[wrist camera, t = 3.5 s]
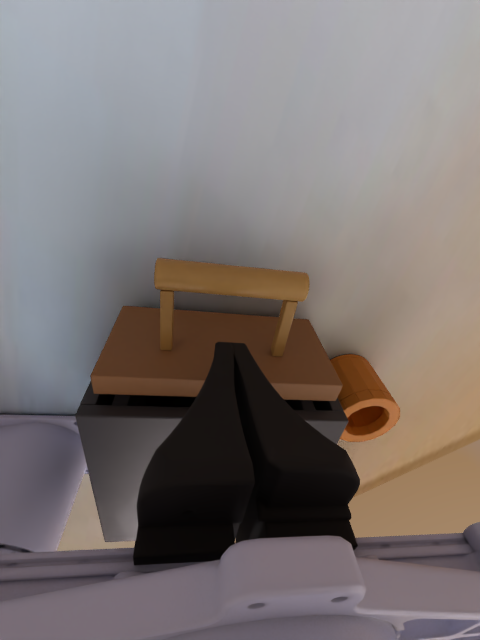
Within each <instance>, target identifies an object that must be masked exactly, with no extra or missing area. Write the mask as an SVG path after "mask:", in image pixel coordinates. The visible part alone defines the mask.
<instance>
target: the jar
mask: <svg viewBox="0 0 480 640" xmlns="http://www.w3.org/2000/svg"><path fill="white" fill-rule="evenodd" d="M330 362H331V364H332V365H333V367H334V369H335V371H336V373H337V375H338V377H339V379H340V381H341V383H342V385H343V386H342V389H341V391H340V393H339V395H338V399H339V402H340V404H341V406H342V408H343V411H344V412H345V414H346V416H347V418H348V424H347V425H346V427H345V429H344V431H343V433H342V435H341V437H340V439H342V440H345V441H348V442H362V441H367V440H371V439H374V438H376V437H379V436H381V435H383V434H384V433H386V432H387V431H389V430H390V429H391V428H392V427H393V426H395V424H396V423H397V421H398V420H399V417H400V408H399V406H398V405H397V403H396V402H395V400H394V399H393V397H392V396H391V394H390V393H389V391H388V390H387V388H386V387H385V385H384V384H383V383H382V381H381V380H380V378H379V377H378V375H377V374H376V372H375V371H374V369H373V368H372V366H371V365H370V363H369V362H368V361H367V360H366V359H365V358H363V357H361V356H359V355H353V354H348V355H341V356H338V357H335V358H333V359H331V360H330Z"/></svg>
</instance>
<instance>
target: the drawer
mask: <svg viewBox="0 0 480 640" xmlns="http://www.w3.org/2000/svg"><path fill="white" fill-rule="evenodd" d="M154 284H155V288H156V289H159V290H161V291H160V308H148V307H135V306H123V307H122V309H121V311H120V313H119V316H118V318H117V320H116V322H115V324H114V326H113V328H112V331H111V333H110V335H109V337H108V339H107V341H106V343H105V346H104V348H103V350H102V352H101V354H100V356H99V359H98V361H97V363H96V365H95V367H94V369H93V371H92V374H91V382H92V387H93V393H94V394H115V397H114V400H113V403H112V405H117V406H158V407H191V405H192V404H193V402H194V400H195V399H196V397H197V395H198V393H199V392H200V390H201V388H202V386H203V384H204V382H205V379H206V377H207V375H208V373H209V370H210V367H211V365H212V362H213V358H214V351H215V343H217V342H233V343H245V344H246V345H247V347H248V349H249V351H250V353H251V355H252V356H253V358H254V360H255V361H256V363H257V365H258V366H259V368H260V369H261V371H262V372H263V374H264V375H265V377H266V378H267V379H268V381H269V382H270V383H271V385H272V386H273V387H274V389H275V390H276V391H277V392H278V393H279V395H280V396H281V397H282V398H283V399H284V400H285V401H286V403H287V404H288V405H289V406H290V407H291V408H292V409H293V410H316V409H315V406H314V404H313V401H312V400H316V401H336V399H337V397H338V395H339V393H340V391H341V389H342V386H343V385H342V383H341V381H340V379H339V377H338V375H337V373H336V371H335V369H334V367H333V365H332V364H331V362H330V360H329V358H328V356H327V354H326V352H325V350H324V348H323V346H322V344H321V342H320V340H319V338H318V336H317V335H316V333H315V331H314V329H313V327H312V325H311V323H310V321H309V320H308V319H295V318H294V314H295V311H296V307H297V304H298V302H297V301H301V302H302V301H304V300H305V299H306V297H307V295H308V291H309V277H308V274H307V273H303V272H293V271H283V270H273V269H264V268H254V267H244V266H234V265H224V264H214V263H204V262H194V261H184V260H174V259H164V258H157V260H156V263H155V272H154ZM174 291H183V292H195V293H207V294H218V295H230V296H242V297H254V298H266V299H277V300H283V303H282V307H281V311H280V315H279V317H268V316H255V315H242V314H228V313H215V312H202V311H188V310H175V309H174Z"/></svg>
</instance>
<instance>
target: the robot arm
mask: <svg viewBox="0 0 480 640" xmlns="http://www.w3.org/2000/svg"><path fill="white" fill-rule="evenodd" d="M84 474H89V472H88V468H87V464H86V460H85V455H84V451H83V447H82V443H81V438H80V434H79V430H78V426H77V421H76V417H75V416H47V415H0V640H480V522H478V523H475V524H472V525H470V526H469V527H467V528H466V529H465V530H464V532H463V533H454V534H432V535H431V534H430V535H408V536H386V537H364V538H355V536H354V533H353V530H352V528H351V525H350V522H349V520H350V519H351V513H350V510H349V507H348V503H349V502H350V500H351V499H352V498H353V496H354V495H355V493H356V492H357V490H358V487H359V485H360V479H359V477H358V474H357V472H356V469H355V467H354V465H353V463H352V461H351V459H350V457H349V456H348V454H347V452H346V450H344V449H343V448H341V447H340V446H338V445H337V444H335V443H334V442H332V441H331V440H329V439H328V438H327V437H325V436H324V435H322V434H321V433H320V432H319V431H317V430H316V429H315V428H314V427H312V426H311V425H310V424H309V423H308V422H306V421H305V420H304V419H303V418H302V417H301V416H300V415H299V414H298V413H296V412H295V411H294V410H293V409H292V408H291V407H290V406H289V405H288V404H287V403H286V401H285V400H284V399H283V398H282V397H281V396H280V395H279V393H278V392H277V391H276V390H275V389H274V387H273V386H272V385H271V383H270V382H269V381H268V379H267V378H266V377H265V375H264V374H263V372H262V371H261V369H260V368H259V366H258V365H257V363H256V361H255V360H254V358H253V356H252V355H251V353H250V351H249V349H248V347H247V345H246V344H245V343H233V342H217V343H215V351H214V358H213V362H212V365H211V367H210V370H209V373H208V375H207V377H206V379H205V382H204V384H203V386H202V388H201V390H200V392H199V393H198V395H197V397H196V399H195V400H194V402H193V404H192V405H191V407H190V408H189V410H188V411H187V413H186V414H185V416H184V417H183V418H182V420H181V421H180V422H179V424H178V425H177V426H176V427H175V429H174V430H173V431H172V432H171V434H170V435H169V436H168V437H167V438H166V439H165V440H164V441H163V443H162V444H161V445H160V446H159V447H158V448H157V449H156V451H155V453H154V455H153V456H152V458H151V460H150V462H149V464H148V466H147V469H146V471H145V473H144V475H143V478H142V481H141V484H140V488H139V493H138V500H137V517H138V530H137V536H136V542H135V547H134V548H119V549H97V550H75V551H57V548H58V545H59V543H60V540H61V537H62V534H63V531H64V528H65V526H66V523H67V520H68V517H69V514H70V511H71V509H72V506H73V503H74V500H75V497H76V495H77V492H78V489H79V486H80V483H81V480H82V478H83V475H84ZM235 538H236V543H234V541H235Z"/></svg>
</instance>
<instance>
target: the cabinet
mask: <svg viewBox="0 0 480 640" xmlns="http://www.w3.org/2000/svg"><path fill="white" fill-rule="evenodd" d="M114 397H115V394H94V393H93V387H92V382H90V384H89V386H88V388H87V390H86V393H85V395H84V397H83V399H82V401H81V405H80V406H79V409H78V411H77V413H76V415H75V417H76V421H77V426H78V430H79V434H80V438H81V443H82V447H83V451H84V455H85V460H86V464H87V468H88V472H89V476H90V481H91V485H92V489H93V493H94V498H95V502H96V506H97V510H98V515H99V519H100V523H101V527H102V532H103V536H104V540H105V542H119V541H136V536H137V530H138V517H137V500H138V493H139V488H140V484H141V481H142V478H143V475H144V473H145V471H146V469H147V466H148V464H149V462H150V460H151V458H152V456H153V455H154V453H155V451H156V449H157V448H158V447H159V446H160V445H161V444H162V443H163V441H164V440H165V439H166V438H167V437H168V436H169V435H170V434H171V432H172V431H173V430H174V429H175V427H176V426H177V425H178V424H179V422H180V421H181V420H182V418H183V417H184V416H185V414H186V413H187V411H188V410H189V408H190V407H158V406H117V405H112V403H113V400H114ZM312 401H313V404H314V406H315V409H316V410H294V411H295V412H296V413H298V414H299V415H300V416H301V417H302V418H303V419H304V420H305V421H306V422H308V423H309V424H310V425H311V426H312V427H314V428H315V429H316V430H317V431H319V432H320V433H321V434H322V435H324V436H325V437H327V438H328V439H329V440H331V441H332V442H334V443H335V444H337V443H338V441H339V439H340V437H341V435H342V433H343V431H344V429H345V427H346V425H347V424H348V418H347V416H346V414H345V412H344V411H343V408H342V406H341V404H340V402H339V399H338V397H337V399H336V401H316V400H312Z"/></svg>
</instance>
